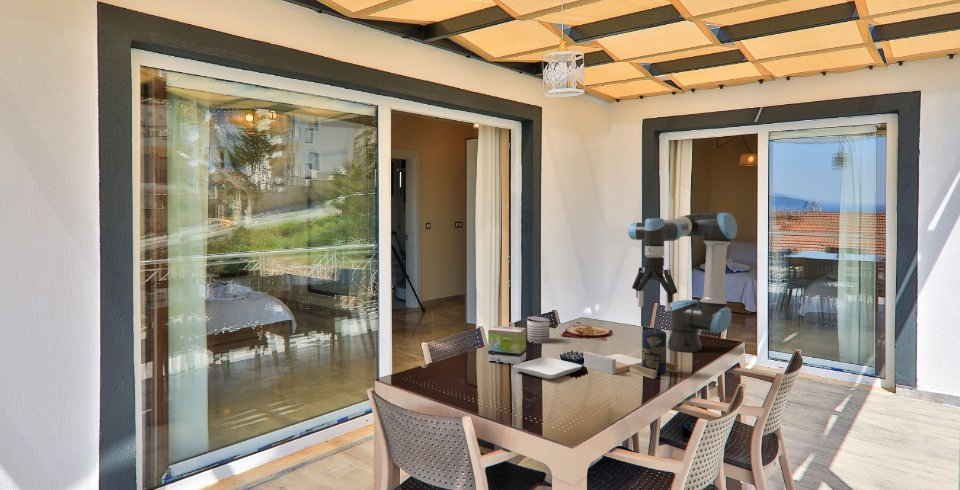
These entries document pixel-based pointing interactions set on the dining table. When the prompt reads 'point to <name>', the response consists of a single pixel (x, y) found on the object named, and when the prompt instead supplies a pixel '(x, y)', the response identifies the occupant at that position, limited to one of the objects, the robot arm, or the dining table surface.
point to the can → (538, 329)
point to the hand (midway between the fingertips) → (653, 308)
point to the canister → (654, 350)
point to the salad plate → (547, 367)
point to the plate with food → (587, 332)
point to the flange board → (610, 362)
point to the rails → (650, 372)
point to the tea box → (507, 344)
